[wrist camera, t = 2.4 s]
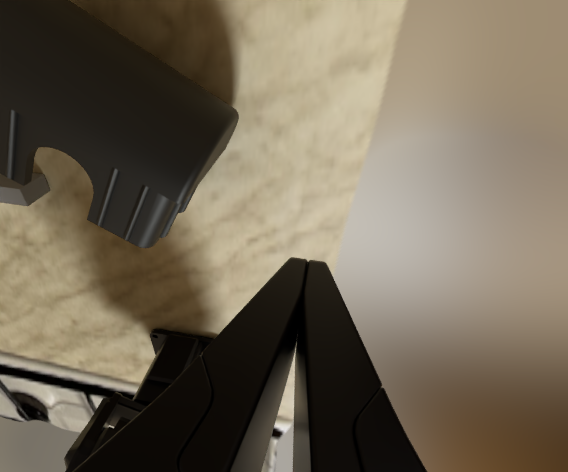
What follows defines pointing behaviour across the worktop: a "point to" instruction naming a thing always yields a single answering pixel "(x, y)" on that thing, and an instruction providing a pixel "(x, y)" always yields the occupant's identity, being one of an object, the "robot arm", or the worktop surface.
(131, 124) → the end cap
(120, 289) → the worktop surface
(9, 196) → the frame
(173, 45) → the worktop surface
